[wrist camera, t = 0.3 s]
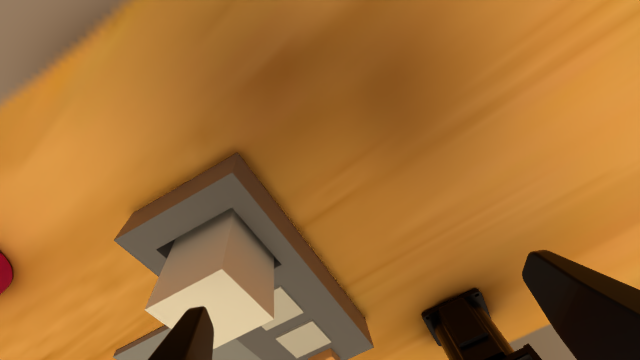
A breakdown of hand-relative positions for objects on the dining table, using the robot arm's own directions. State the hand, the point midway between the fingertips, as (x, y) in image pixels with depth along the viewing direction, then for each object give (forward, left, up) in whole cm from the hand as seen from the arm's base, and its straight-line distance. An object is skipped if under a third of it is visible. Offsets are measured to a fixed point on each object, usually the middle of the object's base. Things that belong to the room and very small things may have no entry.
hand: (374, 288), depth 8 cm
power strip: (-10, +10, -15) cm, 20 cm away
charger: (-4, +10, -14) cm, 17 cm away
